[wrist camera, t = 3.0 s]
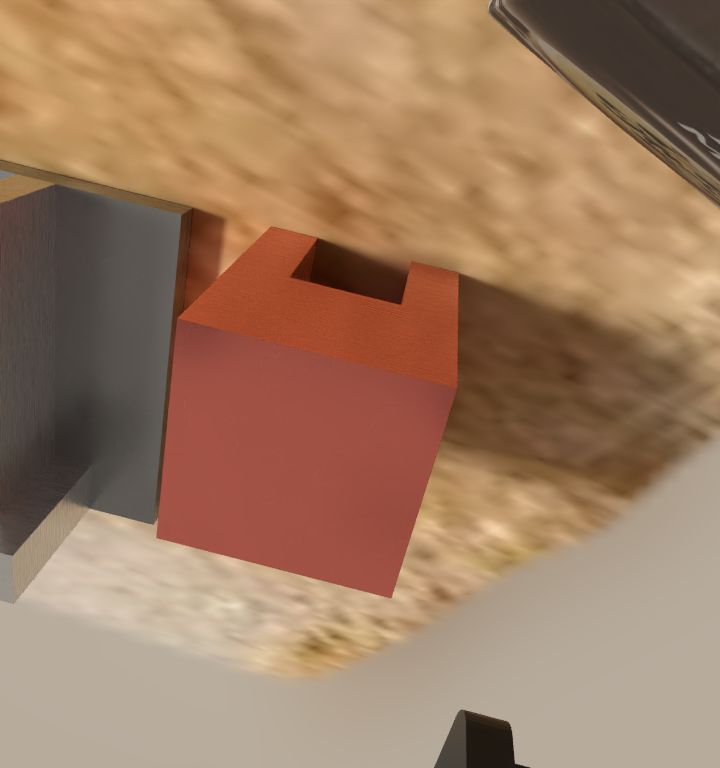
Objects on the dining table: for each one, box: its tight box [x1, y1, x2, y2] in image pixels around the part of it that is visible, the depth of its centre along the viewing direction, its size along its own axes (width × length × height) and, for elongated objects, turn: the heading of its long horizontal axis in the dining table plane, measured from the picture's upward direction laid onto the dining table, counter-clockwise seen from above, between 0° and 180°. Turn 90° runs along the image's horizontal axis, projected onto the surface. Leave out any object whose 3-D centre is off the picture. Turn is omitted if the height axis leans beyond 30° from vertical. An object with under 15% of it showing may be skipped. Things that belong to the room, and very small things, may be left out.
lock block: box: [156, 227, 459, 598], centre depth 19 cm, size 6×6×8 cm
